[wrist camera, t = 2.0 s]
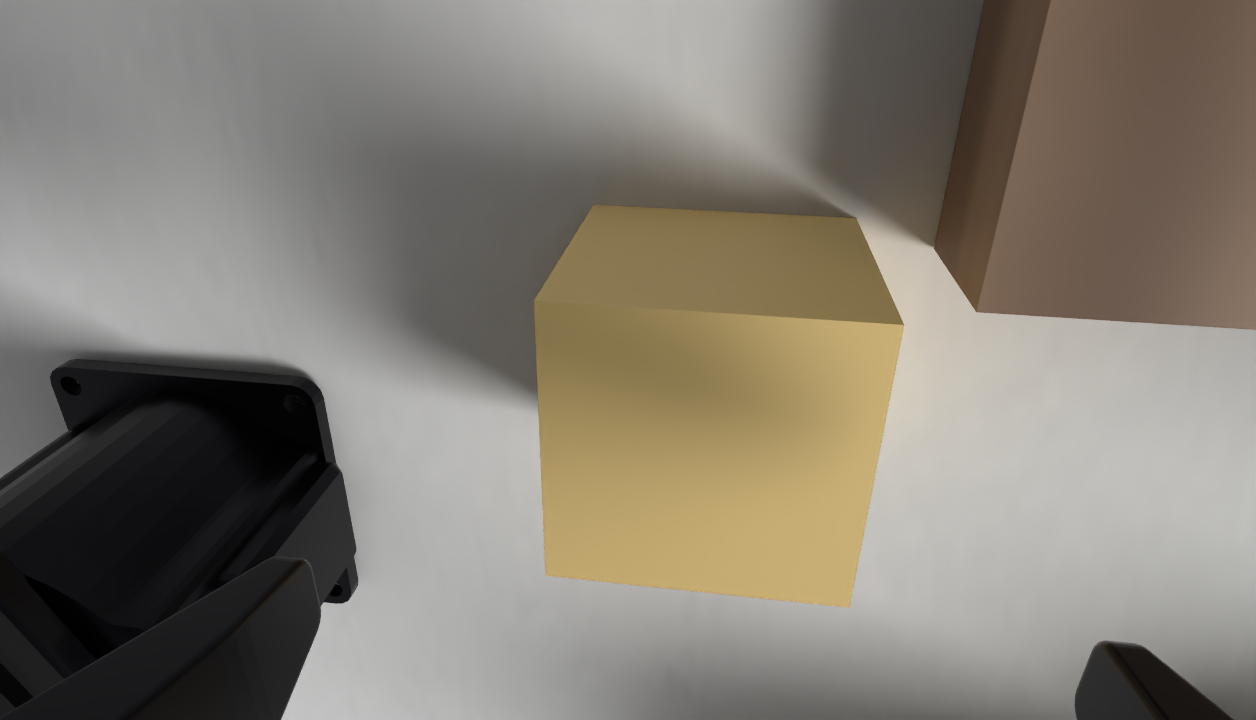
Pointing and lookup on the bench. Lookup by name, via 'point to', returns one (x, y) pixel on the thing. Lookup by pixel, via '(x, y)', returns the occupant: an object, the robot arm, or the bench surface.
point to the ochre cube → (713, 401)
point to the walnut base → (1108, 163)
